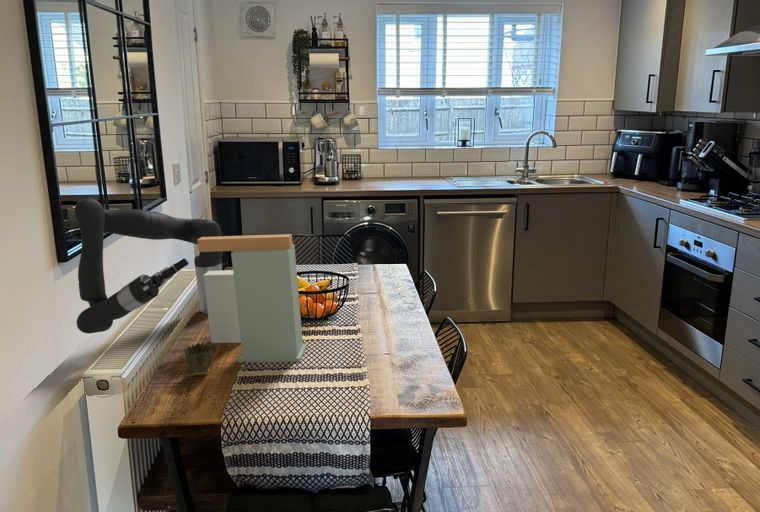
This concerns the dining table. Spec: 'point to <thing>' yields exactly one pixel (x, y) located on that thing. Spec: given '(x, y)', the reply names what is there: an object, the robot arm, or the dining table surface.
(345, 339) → the dining table surface
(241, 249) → the bar
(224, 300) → the post
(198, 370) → the cup
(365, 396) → the dining table surface
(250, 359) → the stand
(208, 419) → the dining table surface
